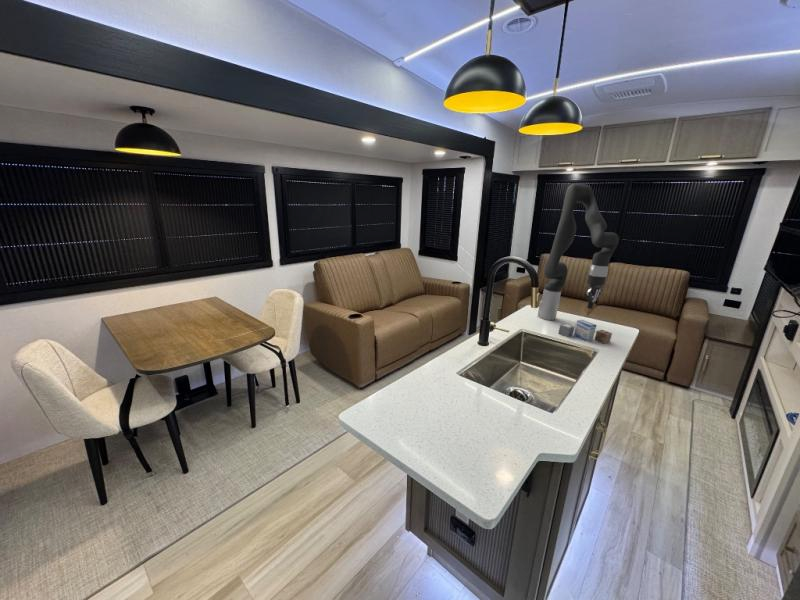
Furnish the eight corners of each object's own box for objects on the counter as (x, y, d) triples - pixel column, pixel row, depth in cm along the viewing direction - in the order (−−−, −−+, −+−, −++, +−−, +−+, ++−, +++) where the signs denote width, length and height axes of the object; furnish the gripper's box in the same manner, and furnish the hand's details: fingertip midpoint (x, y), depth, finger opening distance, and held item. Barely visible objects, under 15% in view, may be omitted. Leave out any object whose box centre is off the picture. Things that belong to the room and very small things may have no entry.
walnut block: (594, 340, 161) (596, 330, 160) (599, 338, 164) (601, 329, 163) (604, 344, 158) (607, 334, 156) (609, 342, 160) (612, 332, 159)
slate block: (558, 333, 168) (560, 324, 166) (563, 332, 170) (565, 323, 169) (567, 337, 164) (569, 328, 162) (572, 335, 166) (574, 326, 165)
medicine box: (573, 335, 166) (576, 320, 163) (578, 334, 168) (582, 319, 165) (587, 341, 159) (591, 325, 157) (593, 340, 161) (596, 324, 158)
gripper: (596, 271, 160) (589, 304, 165) (582, 274, 153) (575, 308, 158) (612, 274, 154) (604, 308, 159) (599, 277, 147) (591, 312, 152)
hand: (590, 308), depth 159 cm, fingers closed
